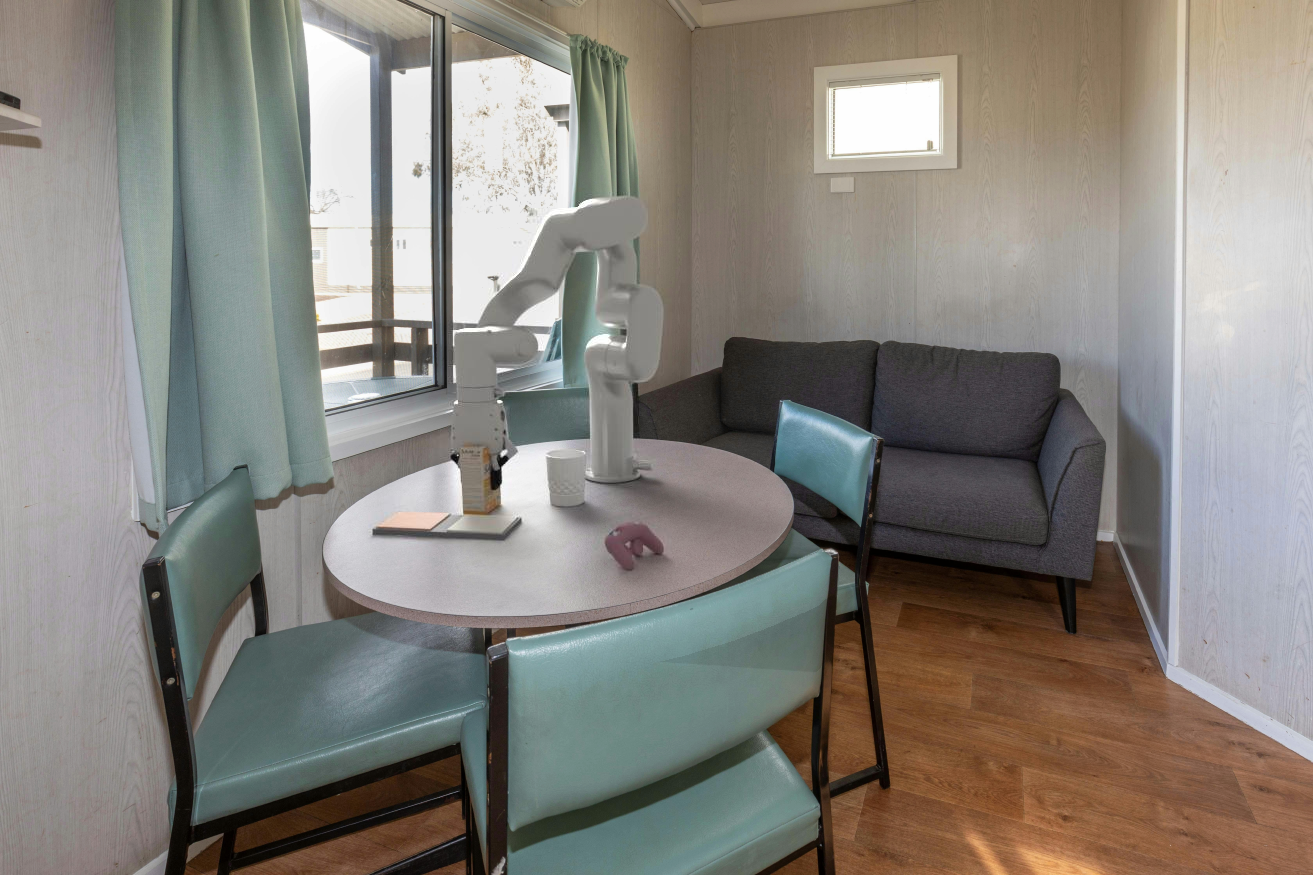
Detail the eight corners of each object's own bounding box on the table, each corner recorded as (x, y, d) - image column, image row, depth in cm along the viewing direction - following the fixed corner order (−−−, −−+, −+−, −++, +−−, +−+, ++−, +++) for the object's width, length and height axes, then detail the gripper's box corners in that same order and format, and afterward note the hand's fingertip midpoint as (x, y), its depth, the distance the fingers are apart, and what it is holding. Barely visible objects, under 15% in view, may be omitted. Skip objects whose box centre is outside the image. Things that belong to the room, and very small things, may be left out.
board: (521, 522, 147) (521, 515, 147) (504, 540, 137) (503, 533, 137) (398, 516, 150) (398, 510, 150) (372, 534, 141) (372, 527, 140)
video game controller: (647, 558, 133) (631, 519, 134) (668, 551, 131) (652, 511, 131) (612, 577, 125) (595, 535, 126) (633, 569, 123) (616, 527, 123)
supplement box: (485, 516, 151) (482, 448, 148) (462, 514, 152) (458, 447, 149) (502, 503, 159) (500, 439, 156) (479, 502, 160) (476, 438, 157)
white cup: (593, 498, 162) (592, 450, 160) (576, 509, 155) (575, 459, 153) (558, 495, 165) (556, 447, 163) (540, 505, 158) (538, 456, 156)
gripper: (527, 392, 153) (530, 484, 157) (442, 390, 155) (447, 481, 159) (514, 399, 146) (518, 495, 150) (426, 397, 148) (431, 491, 152)
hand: (481, 487), depth 154 cm, fingers closed on supplement box, 5 cm apart
